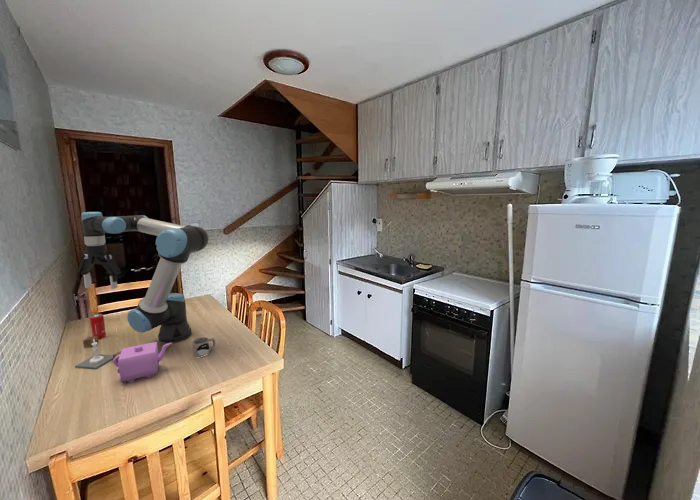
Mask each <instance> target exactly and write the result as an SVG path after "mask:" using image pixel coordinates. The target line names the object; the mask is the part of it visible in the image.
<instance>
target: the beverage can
mask: <svg viewBox="0 0 700 500" xmlns="http://www.w3.org/2000/svg"><path fill="white" fill-rule="evenodd" d="M89 321H90V329H91V333H92V335H91V336H98V340H101V339H104V338H105V337H106V335H107V332H106V326H105V319H104V315H103V313H98V314H97V313H95V314H93V315H91V316H90V317H89Z"/></svg>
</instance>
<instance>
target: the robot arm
mask: <svg viewBox="0 0 700 500" xmlns="http://www.w3.org/2000/svg"><path fill="white" fill-rule="evenodd" d="M80 216H81V226H82V233H83V241H84V245H85V254H82V255H81V260H80V263H79V266H78V270H77V274H81V275H82V281H83V283H84V288H85V289H88V288H91V287H93V285H92V279H91V278H92V277H91V273H90V271H91V270H92V268H93V266H94V265H100V266H102V267H103V268H104V269H105V270H106V272H108V273H109V274H110V275H109V281H110V282H109V283H110V289H111V290H113V289H118V280H119V279H118V275H119V274H121V273H122V271H121V270H120V267H119V266H118V264H117V263H116V261H115V259H114V256H113V254H108V255H107V245H106V234H121V233H125V232H139V233H143V234H144V233H145V234H148V235H152V236H156V239H155V246H156V251H157V252H158V253H157V254H158V256H159V257H160V258H159V261H158V264H157V265H156V269H155V271H154V273H153V276H152V278H151V280H150V281H151V282H150V283H149V286H148V289H147V291H146V294H145V296H144V297H142V298H141V299H140V300H138V304H137V306H136V307H135V308H133V309H131V310H129V311H128V313H127V315H126V317H127V318H126V319H127V322H128V325H129V326H130V328H131V329H133V330H134V331H135V332H137V333H141V334H142V333H146V332H149V331H152V330H153V329H155V328H157V327H159V332H158V335H157V338H158V342H159V343H162V344H167V343H172V344H173V343H174V344H175V343H178V342H182V341H185V340H186V339H188V338H190V337H191V336H192V335H193V334H192V332H193V331H192V328H191V327H190V324H189V322H188V319H187V307H186V306H187V305H186V304H187V303H186V297H185V295H184V294H183V293H179V292H178V293H177V292H173V293H172V292H171V291H172V289H173V286H174V284H175V282H176V279H177V277H178V274H179V272H180V270H181V267H182V265H183V264H185V263H187V262H188V260H189V257H190V255H191V254H192V253H196V252H199V251H202V250H203V249H205V248H206V247H207V245H208V243H209V239H210V237H209V233H208V232H207V231H206V229H204V228H202V227H201V226H196V225H191V224H186V225H181V224H177V223H171V222H166V221H161V220H157V219H153V218H149V217H148V216H146V215H141V214H140V215H139V214H138V215H126V216H125V215H122V216H121V215H120V216H119V215H118V216H103V213H102V212H101V211H87V212H86V211H83V212H82V213H81V215H80Z"/></svg>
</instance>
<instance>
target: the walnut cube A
mask: <svg viewBox="0 0 700 500" xmlns="http://www.w3.org/2000/svg"><path fill="white" fill-rule="evenodd" d="M93 339H95V342H97V345H98V344H99V339H98V336H92V335H91V336H87V337H86V338H84V339H83V340H82V344H83V349H87V348H93V346H92V345H91V344H92V343H94V342H93Z"/></svg>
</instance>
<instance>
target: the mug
mask: <svg viewBox="0 0 700 500" xmlns="http://www.w3.org/2000/svg"><path fill="white" fill-rule="evenodd" d="M210 342H212V345H211V346H210ZM215 347H216V339H215V338H214V337H211V338H208V337H199V338H195V339H194V340H192V350H193V351H192V352H193V357H194V356H195V357H194V358H196V357H200V358H202V357H201V356H204V355H206V354H208V353H209V351H211V350H212V349H214V348H215ZM209 354H210V353H209ZM209 354H208V355H209ZM204 357H205V356H204Z"/></svg>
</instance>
